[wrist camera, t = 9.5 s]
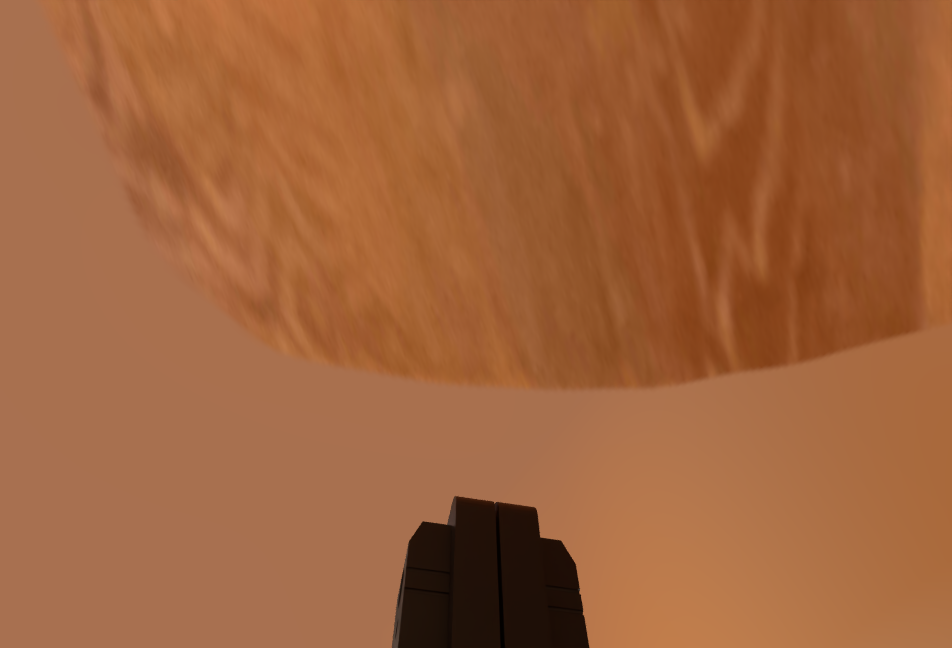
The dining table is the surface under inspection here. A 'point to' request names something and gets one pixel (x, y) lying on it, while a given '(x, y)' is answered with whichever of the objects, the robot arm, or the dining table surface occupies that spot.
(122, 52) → the dining table surface
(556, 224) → the dining table surface
